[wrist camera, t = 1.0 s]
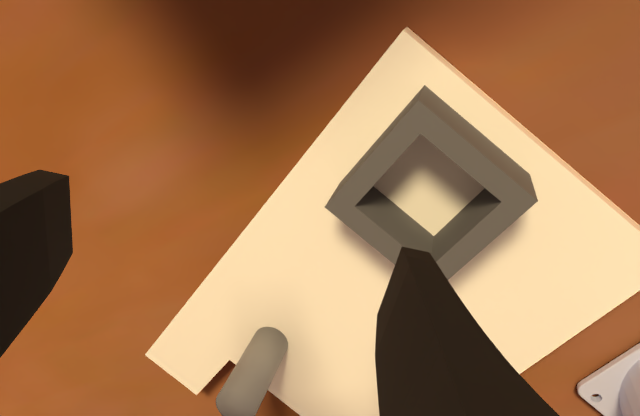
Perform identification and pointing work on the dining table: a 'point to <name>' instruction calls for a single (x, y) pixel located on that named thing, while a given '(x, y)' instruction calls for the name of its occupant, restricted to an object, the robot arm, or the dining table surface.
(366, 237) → the grey square frame
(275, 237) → the shelf board
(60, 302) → the dining table surface
